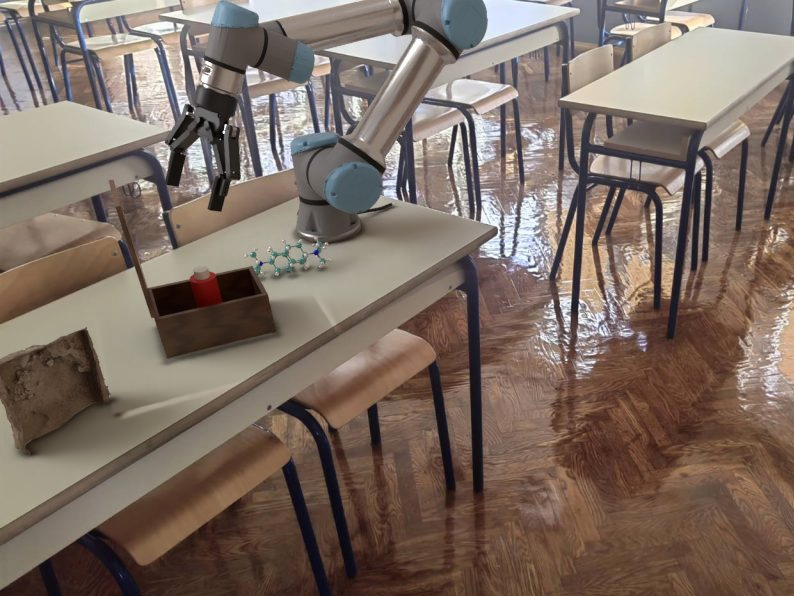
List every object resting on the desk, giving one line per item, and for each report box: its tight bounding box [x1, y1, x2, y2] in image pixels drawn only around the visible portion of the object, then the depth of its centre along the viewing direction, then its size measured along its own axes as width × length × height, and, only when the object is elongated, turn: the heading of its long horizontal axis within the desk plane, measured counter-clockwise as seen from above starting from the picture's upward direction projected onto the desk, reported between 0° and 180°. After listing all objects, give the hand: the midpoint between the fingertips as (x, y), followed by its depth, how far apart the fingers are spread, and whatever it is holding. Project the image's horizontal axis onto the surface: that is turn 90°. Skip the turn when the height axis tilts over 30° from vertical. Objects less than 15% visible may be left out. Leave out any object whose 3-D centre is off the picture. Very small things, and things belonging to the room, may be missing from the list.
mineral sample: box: [0, 326, 112, 456], centre depth 119 cm, size 17×4×15 cm, turn 154°
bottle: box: [189, 265, 223, 308], centre depth 142 cm, size 5×5×13 cm
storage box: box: [148, 265, 277, 359], centre depth 144 cm, size 20×13×9 cm
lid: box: [108, 179, 156, 319], centre depth 131 cm, size 21×13×1 cm
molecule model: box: [243, 237, 332, 276], centre depth 165 cm, size 8×18×7 cm, turn 115°
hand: (192, 197), depth 149 cm, fingers open, 13 cm apart
